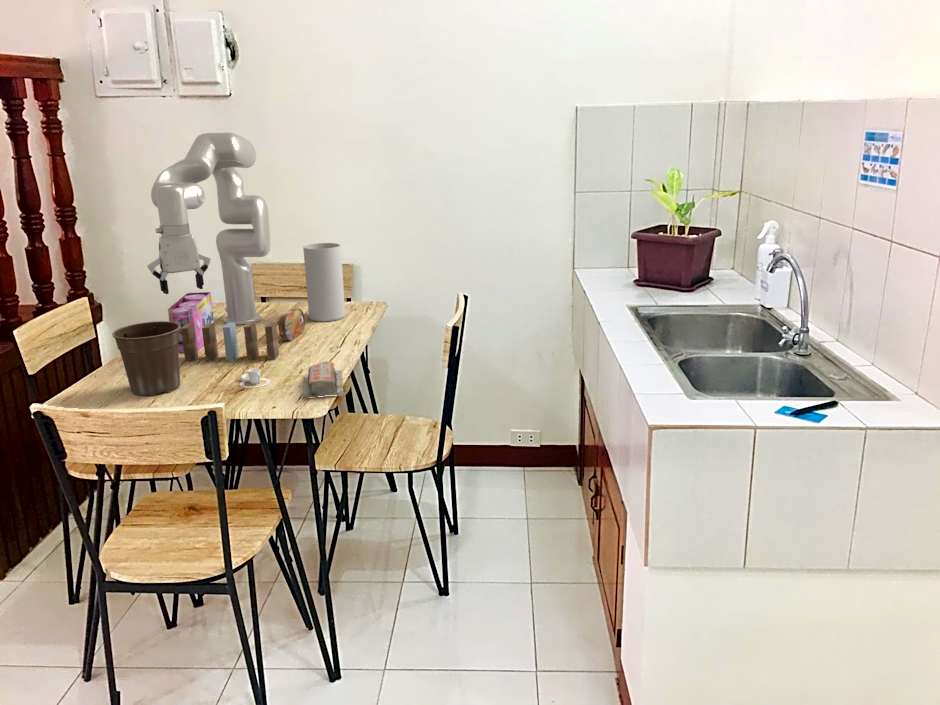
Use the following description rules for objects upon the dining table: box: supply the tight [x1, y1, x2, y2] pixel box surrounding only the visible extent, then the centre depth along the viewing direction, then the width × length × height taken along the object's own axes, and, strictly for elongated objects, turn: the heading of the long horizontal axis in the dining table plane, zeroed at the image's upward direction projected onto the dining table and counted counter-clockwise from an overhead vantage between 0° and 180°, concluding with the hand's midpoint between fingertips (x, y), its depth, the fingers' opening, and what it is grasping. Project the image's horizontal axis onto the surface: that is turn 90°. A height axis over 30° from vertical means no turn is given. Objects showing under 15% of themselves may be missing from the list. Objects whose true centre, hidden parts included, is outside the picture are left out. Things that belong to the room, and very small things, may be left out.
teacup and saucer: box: [238, 367, 271, 389], centre depth 210 cm, size 9×8×4 cm
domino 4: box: [243, 322, 260, 361], centre depth 230 cm, size 2×6×10 cm, turn 0°
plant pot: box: [111, 320, 181, 397], centre depth 205 cm, size 16×16×16 cm
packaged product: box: [302, 360, 344, 399], centre depth 206 cm, size 18×5×10 cm
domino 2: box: [202, 322, 219, 362], centre depth 230 cm, size 2×6×10 cm, turn 0°
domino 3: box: [222, 322, 239, 362], centre depth 230 cm, size 2×6×10 cm, turn 0°
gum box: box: [167, 291, 215, 353], centre depth 247 cm, size 24×8×14 cm, turn 4°
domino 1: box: [181, 323, 199, 363], centre depth 230 cm, size 2×6×10 cm, turn 0°
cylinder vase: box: [302, 242, 346, 322], centre depth 272 cm, size 12×12×25 cm
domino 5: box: [264, 321, 280, 361], centre depth 230 cm, size 2×6×10 cm, turn 0°
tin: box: [277, 308, 306, 341], centre depth 251 cm, size 15×3×8 cm, turn 168°
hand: (183, 290), depth 226 cm, fingers open, 9 cm apart
